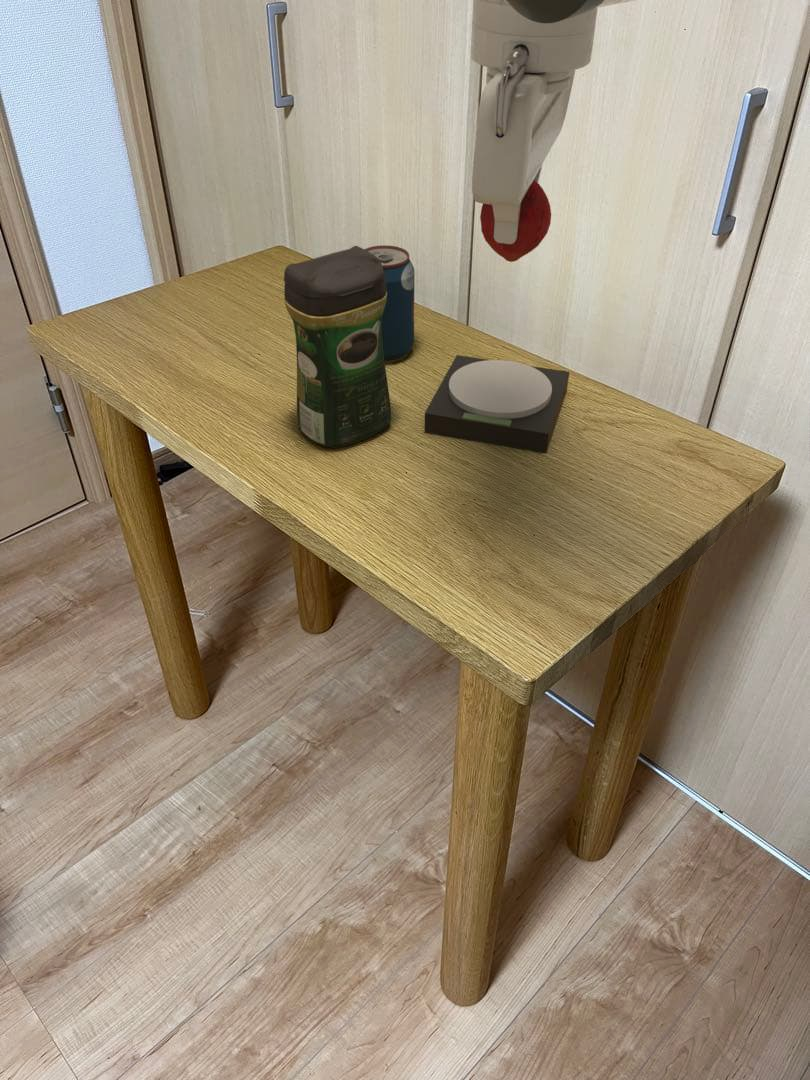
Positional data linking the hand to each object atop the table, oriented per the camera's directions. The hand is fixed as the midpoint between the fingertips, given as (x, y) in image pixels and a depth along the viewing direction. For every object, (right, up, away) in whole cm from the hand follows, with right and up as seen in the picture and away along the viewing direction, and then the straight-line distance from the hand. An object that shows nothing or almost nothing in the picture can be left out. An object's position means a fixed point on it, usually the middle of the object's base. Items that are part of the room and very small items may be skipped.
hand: (515, 223), depth 71 cm
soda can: (-11, -4, +33) cm, 35 cm away
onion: (0, -3, +2) cm, 3 cm away
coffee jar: (-16, -14, +20) cm, 29 cm away
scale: (+1, -12, +22) cm, 25 cm away
